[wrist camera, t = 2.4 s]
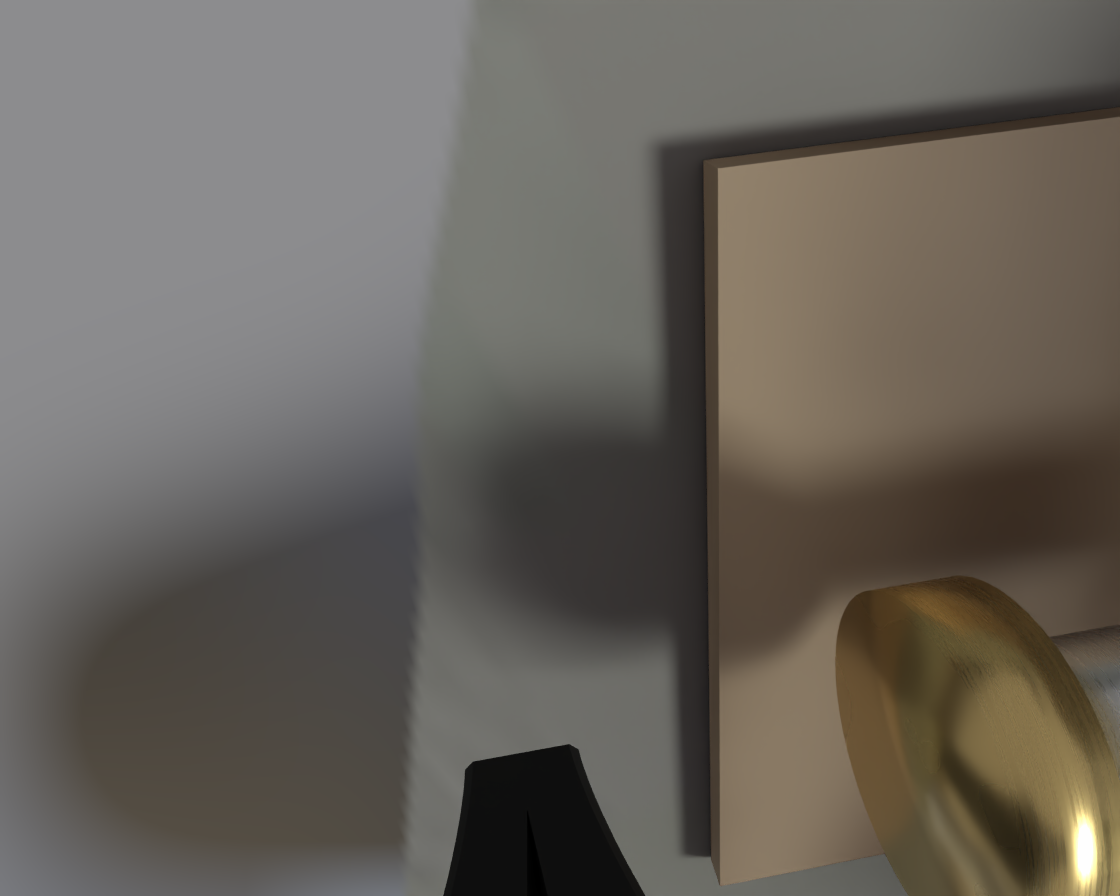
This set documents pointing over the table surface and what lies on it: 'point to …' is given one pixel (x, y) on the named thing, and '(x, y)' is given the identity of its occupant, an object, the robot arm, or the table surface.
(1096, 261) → the bearing block
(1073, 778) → the shaft
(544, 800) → the robot arm
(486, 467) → the table surface
